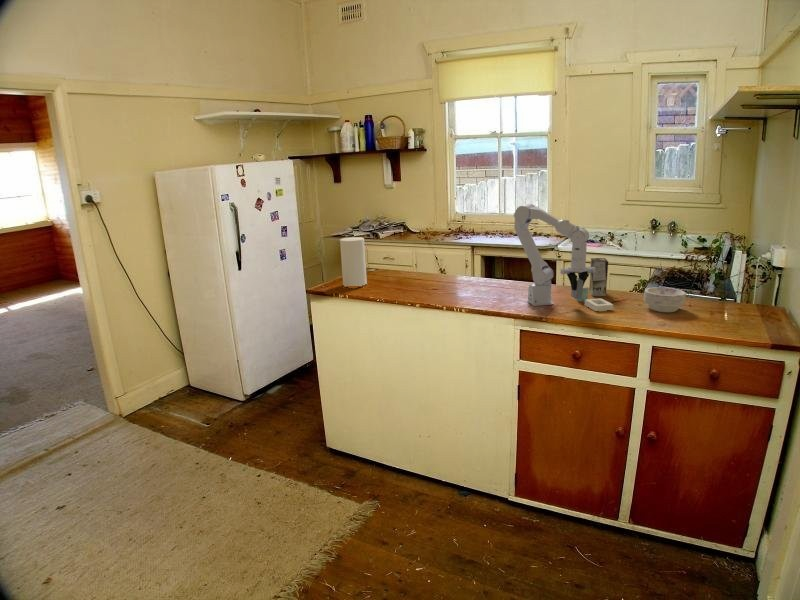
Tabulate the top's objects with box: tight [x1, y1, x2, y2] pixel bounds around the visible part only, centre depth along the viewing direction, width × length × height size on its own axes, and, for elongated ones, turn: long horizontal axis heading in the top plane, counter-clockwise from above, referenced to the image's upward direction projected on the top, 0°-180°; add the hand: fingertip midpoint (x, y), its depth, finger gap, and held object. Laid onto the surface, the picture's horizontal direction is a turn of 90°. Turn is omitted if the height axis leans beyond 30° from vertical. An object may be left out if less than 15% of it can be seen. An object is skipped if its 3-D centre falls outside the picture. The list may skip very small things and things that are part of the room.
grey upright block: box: [576, 286, 589, 303], centre depth 232 cm, size 4×4×6 cm
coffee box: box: [588, 257, 609, 297], centre depth 241 cm, size 9×6×16 cm
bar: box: [570, 277, 583, 300], centre depth 222 cm, size 2×5×8 cm, turn 7°
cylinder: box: [339, 236, 368, 286], centre depth 274 cm, size 12×12×25 cm
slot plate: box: [584, 297, 614, 312], centre depth 222 cm, size 8×10×2 cm
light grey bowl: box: [643, 286, 687, 313], centre depth 215 cm, size 15×15×8 cm
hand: (576, 289), depth 222 cm, fingers closed on bar, 2 cm apart
